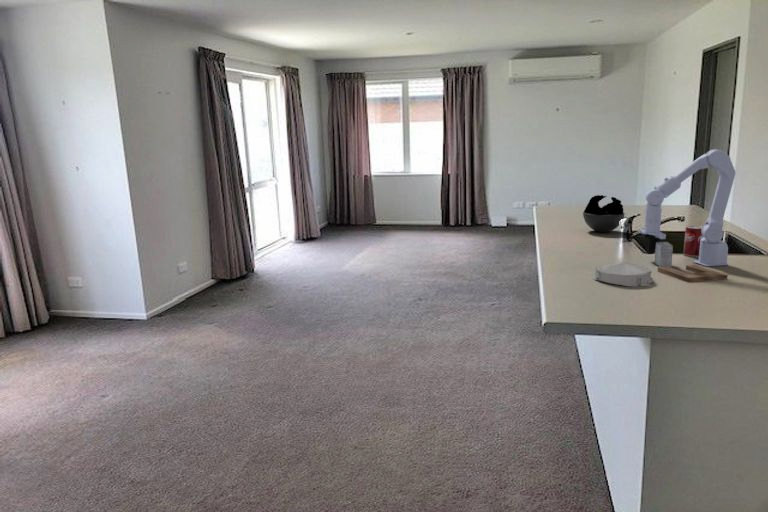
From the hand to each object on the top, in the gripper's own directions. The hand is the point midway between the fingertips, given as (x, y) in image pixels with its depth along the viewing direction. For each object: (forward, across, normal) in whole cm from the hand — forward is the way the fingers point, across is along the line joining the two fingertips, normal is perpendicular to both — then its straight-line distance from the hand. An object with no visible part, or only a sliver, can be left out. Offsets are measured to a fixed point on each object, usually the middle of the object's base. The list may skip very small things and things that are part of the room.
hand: (650, 253), depth 234 cm
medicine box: (+3, +8, 0) cm, 9 cm away
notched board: (+3, +24, 0) cm, 24 cm away
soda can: (+3, -4, +23) cm, 24 cm away
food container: (+3, +23, -27) cm, 36 cm away
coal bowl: (+3, -64, +18) cm, 66 cm away
